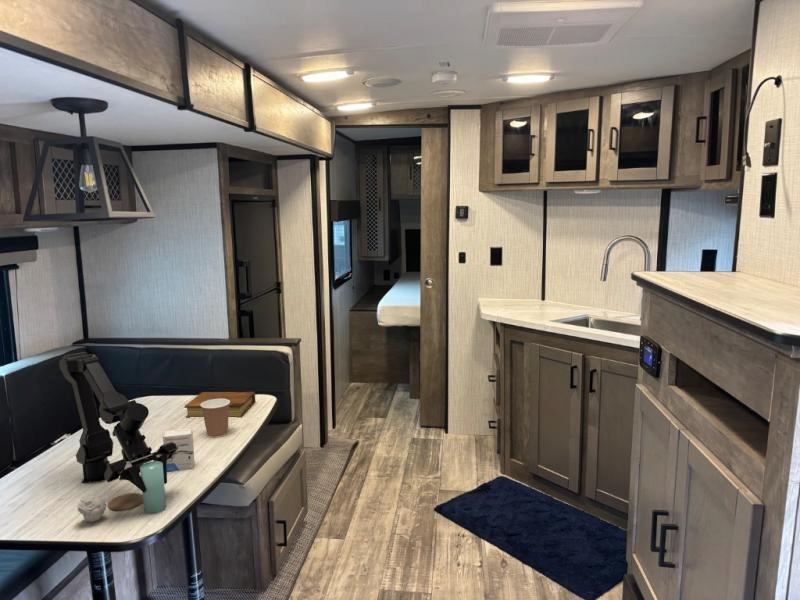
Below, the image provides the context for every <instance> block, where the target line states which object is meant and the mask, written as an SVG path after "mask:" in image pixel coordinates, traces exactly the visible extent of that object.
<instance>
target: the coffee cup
mask: <svg viewBox="0 0 800 600" xmlns="http://www.w3.org/2000/svg"><path fill="white" fill-rule="evenodd" d="M229 403H230V401H229V400H227V399H212V400H208V401H205V402H203V403H201V407H202V411H203V416H204V418H203V421H204V425H205V430H206V434H207V436H208V438H212V437H217V438H221V436H222V437H224V436H226V435H228V430H229V418H228V417H229Z"/></svg>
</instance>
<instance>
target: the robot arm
mask: <svg viewBox="0 0 800 600" xmlns="http://www.w3.org/2000/svg"><path fill="white" fill-rule="evenodd" d="M58 365H59V369H60V371H61V372H62V374H63V378H64V379H66V380H67V381H68V383H70V384H71V385H72V389H73V393H74V398H75V403H76V405H77V410H78V415H79V418H80V422H81V426H82V432H81V435H80V438H79V448H78V450H77V451H76V454H75V460H76V462H77V463H79V464H81V467H82V474H83V479H82V480H81V483H83V484H85V483H97V482H99V483H100V482H105V481H106V483H110V482H113V481H115V480H119V481H123V480H124V481H127V482H128V481H129V482H130V483H131V484H133V485H134V486H135V487H136V488H137V489H139V490H140V491H141V493H142V492H144V493H145V492H146V487H145V485H144V482H143V480H142V478H141V473H140V466H141V465H143V464H145V463H148V462H152V461H160V462H162V463H163V474H164V485H166V484H167V483H168V473H167V460H168V459H170V458H172V457H173V455H174V454H175V452H176V451H177V449H178V447H177V445H176V444H175V443H173V442H170V443H167V444H164V445H163V444H162V445H160V446H159V447H158V449H157V451H155V452H152V451H153V449H152V447H151V446H148V445H147V442H146V441H145V440H146V436H145V434H142V433H141V431H140V430H141V429H142V427H143V425H144V423H145V421H146V419H147V418H148V416H149V413H150V412H149V411H150V410H149V408H148V407H147V406H145V404H142V403H140V402H137V401H136V399H133V400H128V399H127V398H126V396H125V395H123V394H121V393H119V392H117V391H116V390H115V387H114V386H113V384H112V382H111V380H110V379H109V378H108V376H107V374H106V373H105V371H104V369H103V367H102V366H101V360H100V359H99V357H98V356H96V354H88V353H87V352H86V351H82V352H77V353H72V354H70V353H69V354H66V355H63V356H62V358H61V359H60V360H59V362H58ZM94 394H95V395H94ZM95 396H96V398H97V400H98V402H99V408H98V409H97V404H96V401H95ZM98 411H99V412H98ZM99 416H100V417H99ZM100 419H101V421H102V422H104V423H105V424H106V425H107V424H108V425H112V424H115V426H113V430H112V437H116V438H117V441H118V443H119V445H120V447H121V450H120V452H121V455H122V459H119V460H116V461H114V462H112V463H111V461H110V460H109V459H108V458H109V457H112V456H113V452H114V451H113V450H114V440H113V439H112V437H111V433H110V430H109V429H107V428H106V429H105V428H104V427H103V426H102V425H101V421H100Z"/></svg>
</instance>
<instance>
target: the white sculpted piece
mask: <svg viewBox="0 0 800 600" xmlns="http://www.w3.org/2000/svg"><path fill="white" fill-rule="evenodd" d="M76 507H77V511H78V512H79V513H80V514H81V515H82V517H83V519H84V521H87V522H88V523H89V522H91V523H94V522H97V521H99V520H101V518H102V517H103V516H104V513H105V511H107V510H106V509H107V503H106V499H104V498H102V497H99V496H98V497H96V496H92V495H88V496H86V497H81V499H80V502H78V504H77V505H76Z"/></svg>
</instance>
